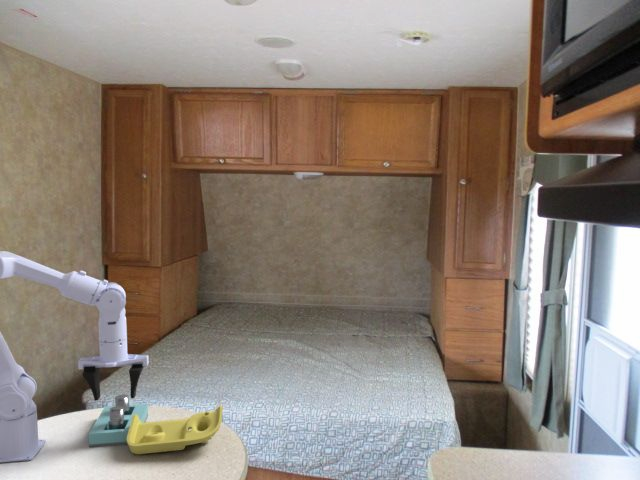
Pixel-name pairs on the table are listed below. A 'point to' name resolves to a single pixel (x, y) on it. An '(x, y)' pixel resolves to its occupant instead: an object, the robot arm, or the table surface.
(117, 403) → the peg
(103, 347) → the robot arm
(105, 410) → the housing
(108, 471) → the table surface
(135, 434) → the plastic component
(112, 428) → the peg
